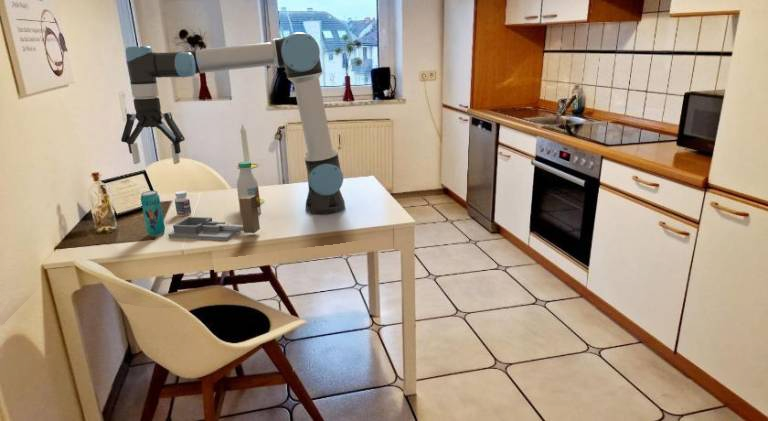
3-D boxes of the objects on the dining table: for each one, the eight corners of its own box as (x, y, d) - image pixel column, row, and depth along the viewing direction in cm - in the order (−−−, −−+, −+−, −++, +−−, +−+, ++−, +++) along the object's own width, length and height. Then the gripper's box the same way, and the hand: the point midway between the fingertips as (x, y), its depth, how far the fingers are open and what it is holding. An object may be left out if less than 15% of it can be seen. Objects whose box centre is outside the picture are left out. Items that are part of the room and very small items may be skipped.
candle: (268, 203, 204) (259, 123, 194) (244, 208, 199) (233, 126, 188) (259, 197, 212) (250, 120, 202) (236, 202, 207) (225, 123, 196)
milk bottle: (243, 218, 187) (236, 166, 181) (238, 212, 194) (231, 161, 187) (263, 214, 191) (257, 163, 184) (258, 209, 197) (252, 159, 191)
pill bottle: (186, 216, 191) (182, 194, 188) (174, 216, 192) (170, 194, 189) (194, 212, 196) (190, 190, 193) (182, 211, 197) (178, 190, 194)
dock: (244, 227, 177) (243, 217, 176) (227, 240, 166) (226, 229, 165) (188, 225, 182) (187, 215, 181) (168, 237, 171) (166, 226, 170)
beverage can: (147, 238, 170) (139, 196, 166) (148, 233, 175) (139, 191, 171) (166, 235, 172) (158, 193, 168) (165, 230, 177) (158, 189, 173)
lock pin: (259, 228, 171) (255, 195, 168) (254, 233, 168) (250, 198, 164) (220, 226, 175) (215, 193, 171) (214, 231, 171) (208, 197, 167)
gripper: (189, 95, 161) (198, 160, 168) (115, 96, 163) (127, 160, 170) (178, 98, 154) (188, 165, 161) (101, 99, 156) (114, 165, 163)
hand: (156, 163), depth 165 cm, fingers open, 13 cm apart
